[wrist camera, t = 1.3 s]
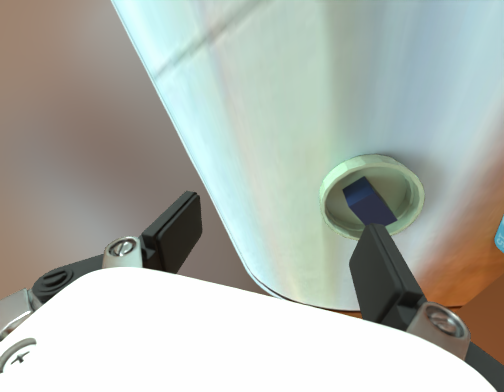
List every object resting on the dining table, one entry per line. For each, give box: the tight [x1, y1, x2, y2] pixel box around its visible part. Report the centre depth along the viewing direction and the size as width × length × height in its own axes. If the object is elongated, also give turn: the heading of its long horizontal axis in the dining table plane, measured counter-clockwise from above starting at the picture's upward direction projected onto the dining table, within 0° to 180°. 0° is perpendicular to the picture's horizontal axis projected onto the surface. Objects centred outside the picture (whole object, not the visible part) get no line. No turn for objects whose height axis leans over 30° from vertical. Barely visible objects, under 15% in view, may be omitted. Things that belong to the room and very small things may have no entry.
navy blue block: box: [342, 176, 398, 226], centre depth 37 cm, size 5×7×6 cm, turn 46°
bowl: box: [319, 154, 425, 241], centre depth 38 cm, size 16×16×4 cm
